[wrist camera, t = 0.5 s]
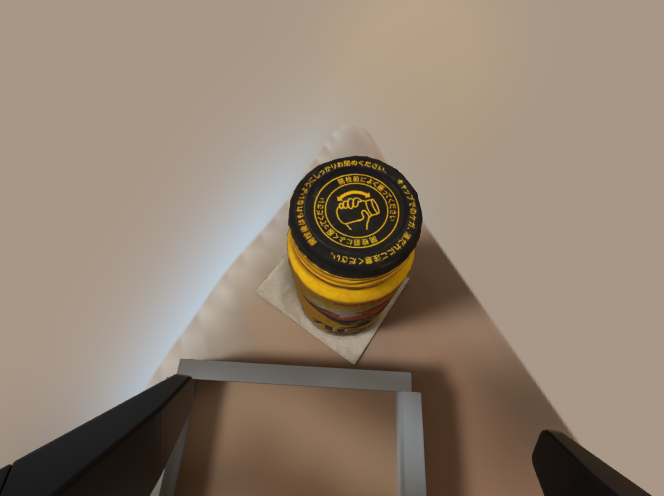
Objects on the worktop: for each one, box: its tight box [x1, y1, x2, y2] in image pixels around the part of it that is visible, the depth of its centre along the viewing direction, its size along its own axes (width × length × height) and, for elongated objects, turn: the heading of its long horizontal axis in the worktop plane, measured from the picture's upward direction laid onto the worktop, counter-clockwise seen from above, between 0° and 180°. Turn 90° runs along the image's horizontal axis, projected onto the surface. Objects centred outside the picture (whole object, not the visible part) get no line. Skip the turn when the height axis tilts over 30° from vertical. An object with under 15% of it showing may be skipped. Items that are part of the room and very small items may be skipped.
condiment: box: [255, 156, 422, 365], centre depth 18 cm, size 7×8×12 cm
